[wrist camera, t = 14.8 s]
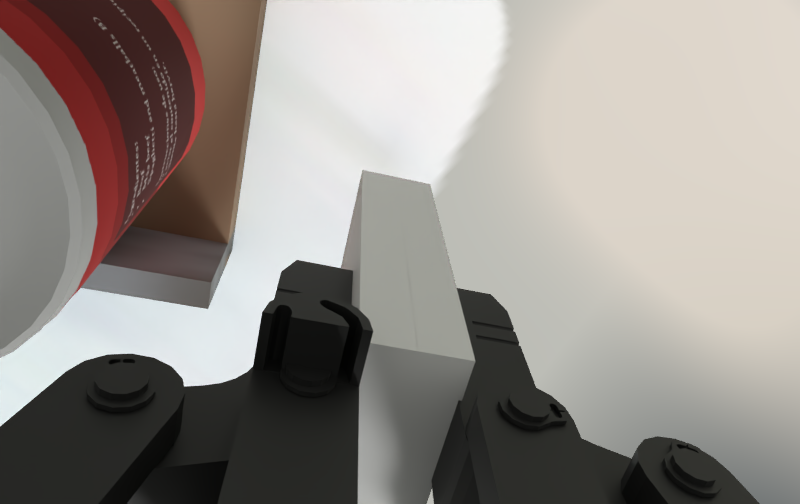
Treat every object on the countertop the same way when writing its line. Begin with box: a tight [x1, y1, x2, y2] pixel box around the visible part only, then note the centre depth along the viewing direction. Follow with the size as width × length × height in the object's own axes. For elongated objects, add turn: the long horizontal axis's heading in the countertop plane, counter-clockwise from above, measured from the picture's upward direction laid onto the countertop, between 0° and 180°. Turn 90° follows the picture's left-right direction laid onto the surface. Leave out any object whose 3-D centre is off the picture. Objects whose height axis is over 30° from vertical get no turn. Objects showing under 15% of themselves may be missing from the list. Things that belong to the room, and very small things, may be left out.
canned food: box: [0, 0, 205, 358], centre depth 16 cm, size 8×8×11 cm
